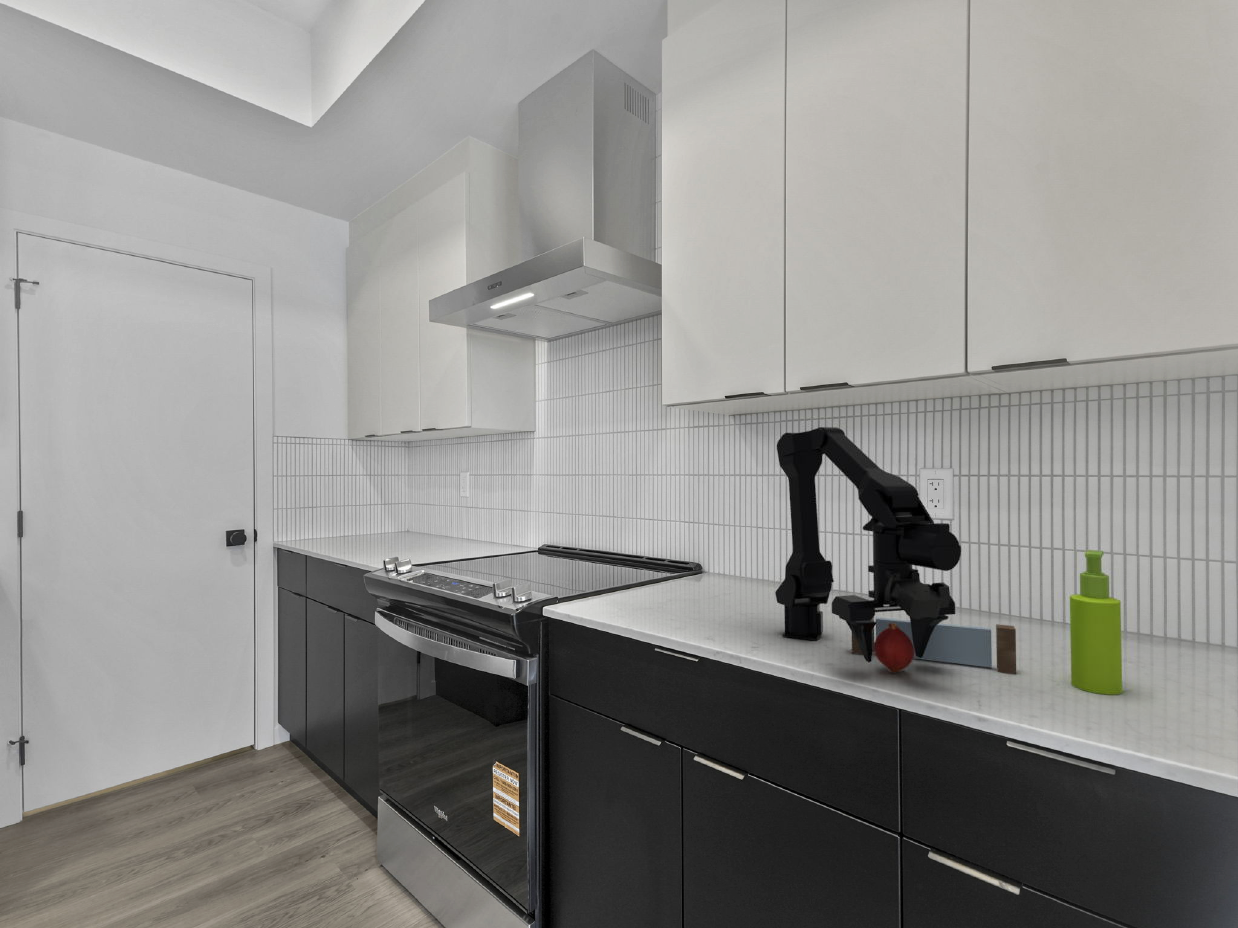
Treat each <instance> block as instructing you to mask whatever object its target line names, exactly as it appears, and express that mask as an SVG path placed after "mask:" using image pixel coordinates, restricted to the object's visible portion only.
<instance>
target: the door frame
mask: <svg viewBox="0 0 1238 928" xmlns="http://www.w3.org/2000/svg"><path fill="white" fill-rule="evenodd" d="M995 630H996V631H995V633H996V634H995V637H996V640H995V642H996V648H995V649H996V669H997V672H998V673H1005V674H1012V675H1016V674H1017V637H1016V636H1017V634H1016V633H1017V632H1016V628H1015V626H1014V625H1008V624H997V623H996V624H995ZM851 654H855V655H862V656H863V654H862V652H861V650H860V648H859V645H858V643H857V641H856V639H855V637H854V635H853V633H852V632H851Z"/></svg>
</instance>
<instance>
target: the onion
mask: <svg viewBox="0 0 1238 928" xmlns="http://www.w3.org/2000/svg"><path fill="white" fill-rule="evenodd" d="M888 626H889V628H887V629H885V630H883V631H882V632H881V633H880V634H879V635H878V636H877V638H876V637H875V639H874V651H875V652H874V654H875V655H874V656H876V659H877V660H878V661H879V662H880V663H881V664H882V665H883V666H884V667H885V668H886V669H887V670H888V671H889V672H890V673H891V674H898V673H900V672H901V671H903V670H904V669H906V668H908V666H910V665H911V663H912V662H913V660H914V659H915V658H914V647H913V644H912V642H911V640H910V638H909V637H908V636H907V635H906V634H905V633H904V632H903V631H902V630H900V629H899V628H898V626H897V625H896V624H895V623H890V624H889V625H888Z"/></svg>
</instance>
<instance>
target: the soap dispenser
mask: <svg viewBox="0 0 1238 928" xmlns="http://www.w3.org/2000/svg"><path fill="white" fill-rule="evenodd" d="M1104 555H1105V554H1104V551H1103V550H1094V549H1093V550H1092V549H1087V550H1085V552H1084V557H1085V558H1086V571H1083V572H1081V573H1079V594H1078V593H1077V594H1071V595H1069V626H1070V627H1069V628H1070V632H1069V633H1070V636H1069V637H1070V680H1071V681H1070V684H1071V685H1072V686H1073V687H1075V688H1077V689H1078V690H1081V691H1084V692H1089V693H1093V694H1099V695H1108V696H1110V695H1113V696H1115V695H1120V694H1122V693H1123V671H1122V670H1123V669H1122V668H1123V664H1122V663H1123V662H1122V615H1121V614H1122V613H1121V610H1122V609H1121V603H1122V602H1121V600H1119V599H1117V598H1114V597H1111V596H1110V576H1109V575H1108V574H1105V572H1102V558H1103V556H1104Z"/></svg>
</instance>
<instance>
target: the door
mask: <svg viewBox="0 0 1238 928" xmlns="http://www.w3.org/2000/svg"><path fill="white" fill-rule="evenodd" d="M871 620H872V621H874V622H876V625H875V627H874V628H873V629H872V654H875V651H874V643H875V639H876V638H877V636H878V635H879V634H880V633H881V632H882V631H883V630H885V629H887V628H889V626H888V625H889V624H890V623H895V624H896V625H897V626H898V628H899V629H900V630H902V631H903V632H904V633H905V634H906V635H907V636H908V637H909V638H910V640H911V642H912V644H913V638H912V630H911V623H910V620H907V619H897V618H896V619H895V618H886V617H884V618H883V617H875V616H874V617H873V618H872V619H871ZM913 647H914V645H913ZM992 658H993V655H992V629H991V628H990V627H983V626H982V627H981V626H979V627H978V626H973V625H972V626H971V625H958V624H949V623H941V622H940V623H939V624H937V625H936V626H935V628H934V630H933V632H932V634H931V636H930V639H929V642H928V644H927V647H926V649H925V652H924V655H923V657H922V658H919V657H917V656H916V654H915V650H914V658H913V659H920V660H929V661H934V662H935V661H936V662H937V661H938V662H944V663H952V664H953V663H954V664H961V665H969V666H970V665H971V666H978V667H979V666H980V667H986V668H993V667H992V666H993V661H992V660H993V659H992Z"/></svg>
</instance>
